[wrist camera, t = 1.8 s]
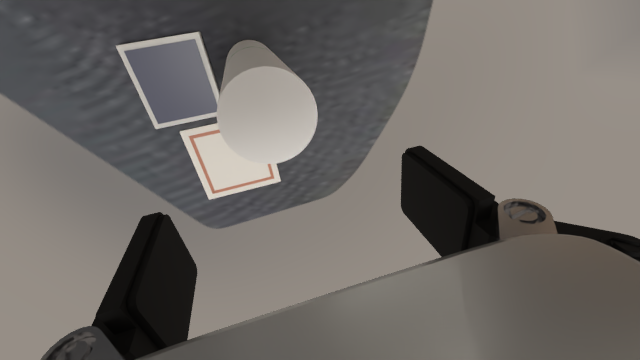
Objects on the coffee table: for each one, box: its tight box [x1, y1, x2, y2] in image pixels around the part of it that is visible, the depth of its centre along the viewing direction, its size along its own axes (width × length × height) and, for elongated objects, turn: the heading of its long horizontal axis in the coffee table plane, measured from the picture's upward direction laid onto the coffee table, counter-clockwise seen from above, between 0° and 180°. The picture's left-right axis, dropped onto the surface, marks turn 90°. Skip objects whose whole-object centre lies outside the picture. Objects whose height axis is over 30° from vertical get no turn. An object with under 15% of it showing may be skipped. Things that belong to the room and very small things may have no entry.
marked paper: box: [180, 123, 281, 200], centre depth 47 cm, size 13×13×1 cm
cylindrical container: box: [216, 40, 318, 164], centre depth 30 cm, size 7×7×25 cm
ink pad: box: [116, 31, 220, 129], centre depth 39 cm, size 11×10×2 cm
